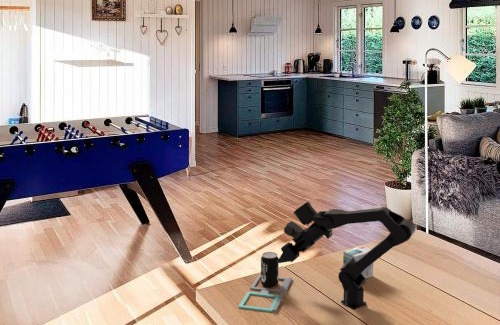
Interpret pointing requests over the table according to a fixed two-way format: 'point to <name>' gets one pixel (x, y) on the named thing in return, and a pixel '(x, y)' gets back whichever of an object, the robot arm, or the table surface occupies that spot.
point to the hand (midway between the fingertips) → (283, 257)
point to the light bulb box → (357, 254)
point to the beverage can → (269, 269)
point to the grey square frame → (267, 288)
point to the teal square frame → (258, 307)
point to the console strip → (280, 294)
